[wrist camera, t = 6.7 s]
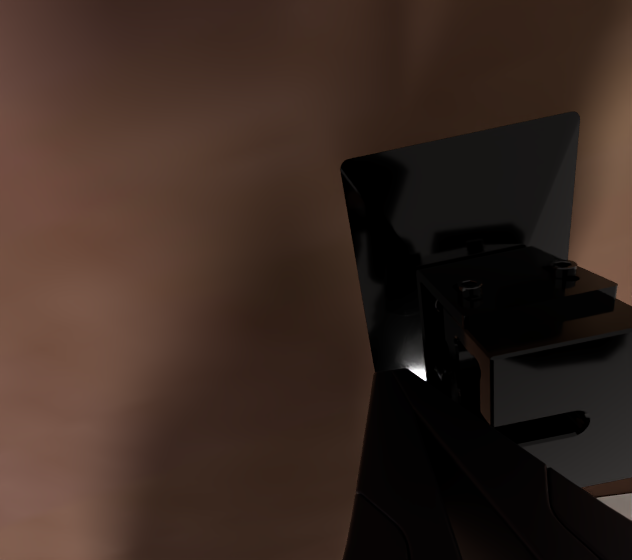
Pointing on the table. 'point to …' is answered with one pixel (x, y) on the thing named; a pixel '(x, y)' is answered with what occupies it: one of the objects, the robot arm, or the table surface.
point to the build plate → (496, 290)
